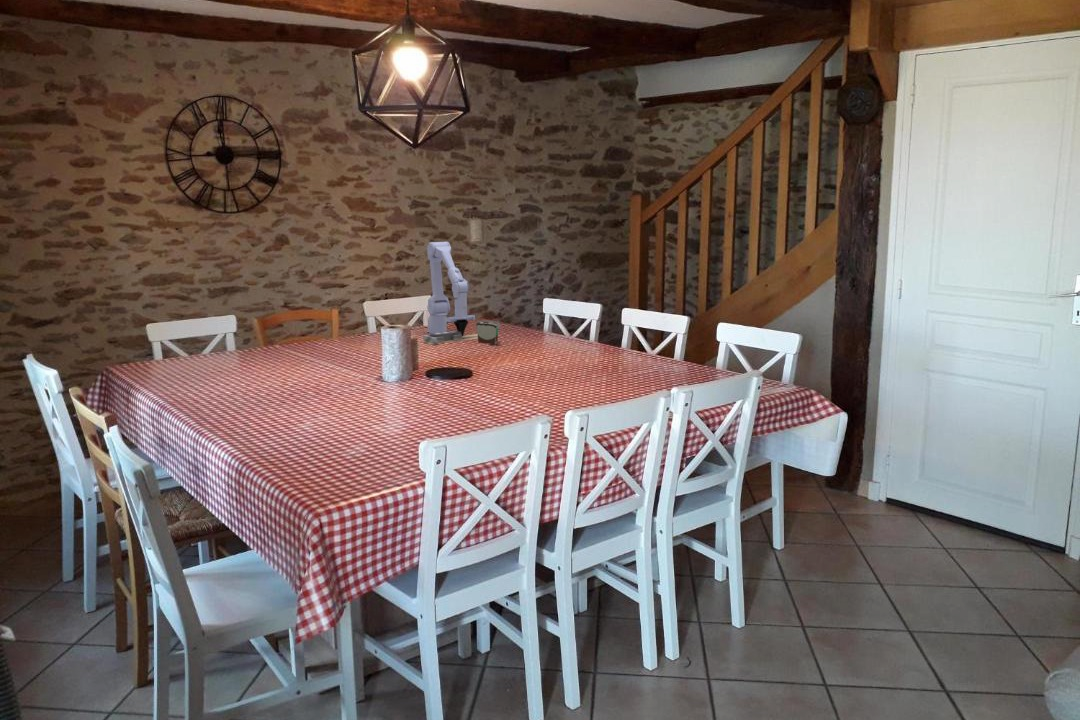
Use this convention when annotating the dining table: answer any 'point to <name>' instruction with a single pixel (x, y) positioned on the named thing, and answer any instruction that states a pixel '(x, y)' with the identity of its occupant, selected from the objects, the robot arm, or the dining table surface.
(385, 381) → the dining table surface
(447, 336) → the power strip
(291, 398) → the dining table surface
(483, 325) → the food container
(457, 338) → the mount
